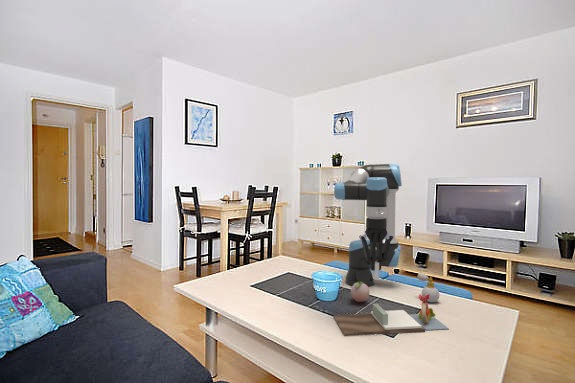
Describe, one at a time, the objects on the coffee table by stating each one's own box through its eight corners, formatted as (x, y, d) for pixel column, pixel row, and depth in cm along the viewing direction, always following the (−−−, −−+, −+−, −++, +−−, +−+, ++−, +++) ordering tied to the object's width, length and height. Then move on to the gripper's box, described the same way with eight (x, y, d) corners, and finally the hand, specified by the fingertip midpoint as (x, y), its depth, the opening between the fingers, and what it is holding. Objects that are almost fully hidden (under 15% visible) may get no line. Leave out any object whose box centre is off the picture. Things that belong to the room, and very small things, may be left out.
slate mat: (408, 315, 126) (408, 314, 126) (429, 314, 127) (429, 313, 127) (426, 330, 113) (426, 329, 113) (448, 329, 114) (448, 328, 114)
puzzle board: (333, 317, 124) (333, 315, 124) (405, 314, 127) (405, 312, 127) (344, 336, 109) (344, 333, 109) (425, 332, 112) (425, 329, 112)
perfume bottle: (438, 306, 136) (438, 279, 135) (415, 301, 141) (415, 275, 141) (440, 300, 142) (440, 275, 142) (417, 296, 147) (418, 271, 147)
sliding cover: (370, 313, 125) (370, 301, 125) (403, 312, 126) (403, 300, 126) (385, 329, 111) (385, 316, 111) (421, 328, 112) (421, 315, 112)
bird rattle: (434, 330, 116) (435, 313, 124) (434, 308, 112) (435, 291, 119) (417, 327, 119) (418, 310, 127) (416, 305, 115) (418, 289, 122)
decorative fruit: (368, 307, 134) (368, 285, 133) (349, 305, 136) (349, 283, 136) (370, 300, 142) (370, 278, 142) (352, 297, 145) (352, 277, 145)
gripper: (363, 219, 112) (362, 282, 113) (397, 218, 114) (396, 281, 114) (356, 216, 120) (356, 276, 120) (388, 216, 121) (387, 275, 122)
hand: (375, 278), depth 117 cm, fingers closed
